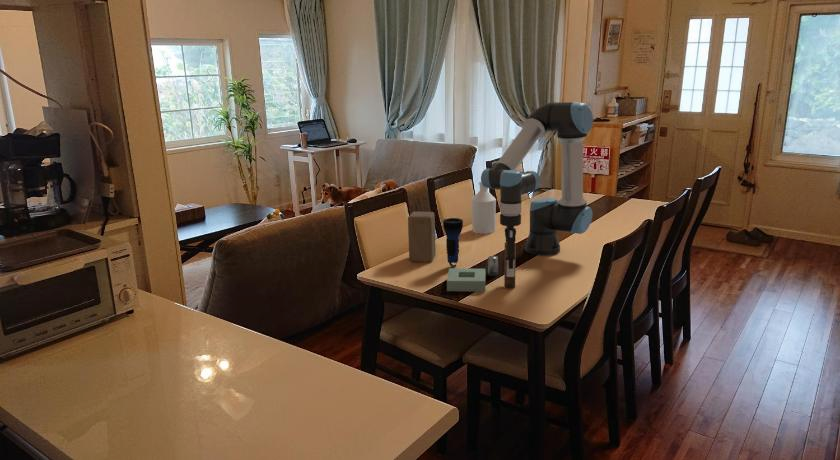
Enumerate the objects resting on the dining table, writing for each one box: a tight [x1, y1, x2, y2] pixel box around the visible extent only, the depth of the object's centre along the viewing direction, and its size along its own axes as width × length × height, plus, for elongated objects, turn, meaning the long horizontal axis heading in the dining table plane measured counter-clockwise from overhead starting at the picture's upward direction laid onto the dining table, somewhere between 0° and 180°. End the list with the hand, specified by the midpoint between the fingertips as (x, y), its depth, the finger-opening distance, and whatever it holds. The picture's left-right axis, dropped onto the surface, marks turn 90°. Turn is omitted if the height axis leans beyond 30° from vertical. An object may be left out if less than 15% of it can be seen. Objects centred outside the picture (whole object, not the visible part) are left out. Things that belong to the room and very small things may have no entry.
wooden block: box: [407, 211, 437, 263], centre depth 253 cm, size 10×10×20 cm
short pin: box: [487, 255, 499, 277], centre depth 233 cm, size 4×4×7 cm
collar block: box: [446, 267, 486, 293], centre depth 223 cm, size 14×14×4 cm
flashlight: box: [442, 217, 464, 268], centre depth 241 cm, size 8×8×20 cm
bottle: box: [471, 180, 497, 235], centre depth 294 cm, size 12×12×25 cm
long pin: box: [503, 241, 517, 290], centre depth 218 cm, size 4×4×17 cm
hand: (509, 270), depth 219 cm, fingers open, 12 cm apart
